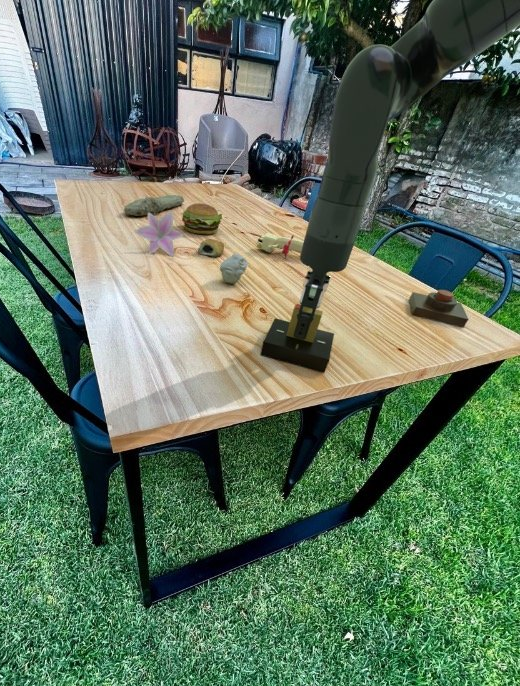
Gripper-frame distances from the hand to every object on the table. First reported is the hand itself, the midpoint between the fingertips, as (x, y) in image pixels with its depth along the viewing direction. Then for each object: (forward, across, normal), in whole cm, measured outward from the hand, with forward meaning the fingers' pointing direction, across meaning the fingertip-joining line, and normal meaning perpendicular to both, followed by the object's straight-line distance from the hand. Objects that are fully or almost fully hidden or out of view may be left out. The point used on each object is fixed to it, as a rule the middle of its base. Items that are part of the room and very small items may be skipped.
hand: (302, 327), depth 63 cm
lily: (+5, +34, +46) cm, 57 cm away
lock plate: (+5, 0, 0) cm, 5 cm away
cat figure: (+5, +55, +10) cm, 56 cm away
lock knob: (+2, 0, 0) cm, 2 cm away
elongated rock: (+5, +75, +68) cm, 101 cm away
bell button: (+1, +36, -30) cm, 47 cm away
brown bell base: (+5, +36, -30) cm, 47 cm away
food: (+5, +61, +44) cm, 75 cm away
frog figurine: (+5, +24, +21) cm, 32 cm away
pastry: (+5, +42, +33) cm, 54 cm away
